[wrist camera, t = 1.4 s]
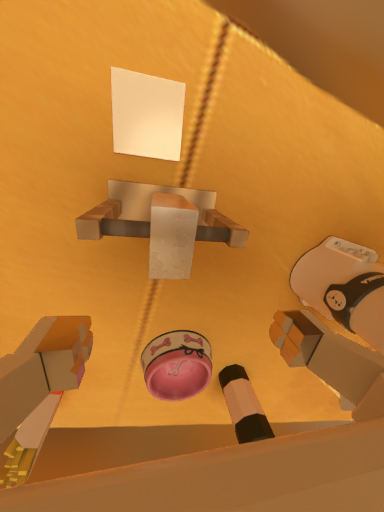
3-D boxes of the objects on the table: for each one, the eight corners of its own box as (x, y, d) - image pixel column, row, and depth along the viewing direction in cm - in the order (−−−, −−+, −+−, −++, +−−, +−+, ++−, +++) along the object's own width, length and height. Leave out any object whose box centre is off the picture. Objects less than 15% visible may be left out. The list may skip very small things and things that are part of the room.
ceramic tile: (184, 85, 28) (185, 83, 27) (178, 161, 31) (179, 161, 31) (112, 69, 26) (110, 66, 25) (114, 152, 29) (113, 152, 29)
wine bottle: (248, 364, 57) (333, 540, 30) (238, 383, 59) (308, 558, 32) (223, 363, 54) (290, 552, 27) (214, 383, 57) (267, 571, 30)
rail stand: (214, 191, 34) (255, 204, 20) (208, 233, 37) (239, 270, 24) (109, 179, 31) (71, 185, 17) (111, 227, 34) (80, 266, 20)
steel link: (181, 194, 27) (199, 210, 16) (177, 240, 30) (190, 279, 19) (152, 191, 26) (151, 206, 15) (151, 238, 29) (148, 278, 18)
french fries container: (42, 393, 47) (-18, 511, 30) (51, 363, 43) (-11, 477, 27) (62, 395, 48) (16, 508, 32) (72, 366, 45) (26, 475, 29)
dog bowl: (129, 373, 50) (126, 402, 44) (159, 321, 44) (160, 345, 38) (190, 383, 56) (195, 410, 50) (223, 338, 51) (232, 362, 44)
